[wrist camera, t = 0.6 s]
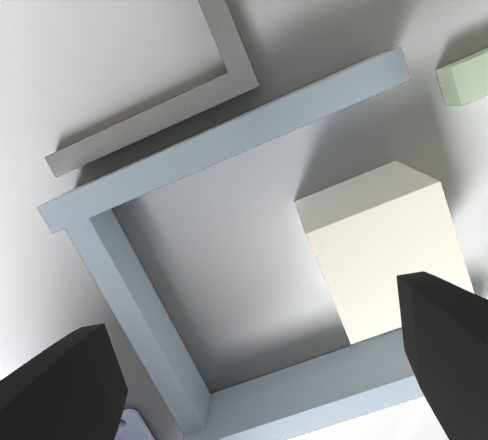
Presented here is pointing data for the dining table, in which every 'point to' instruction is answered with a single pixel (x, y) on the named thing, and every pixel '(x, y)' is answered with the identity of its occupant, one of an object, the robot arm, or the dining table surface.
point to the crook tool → (175, 108)
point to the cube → (380, 242)
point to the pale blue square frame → (158, 321)
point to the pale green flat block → (465, 79)
